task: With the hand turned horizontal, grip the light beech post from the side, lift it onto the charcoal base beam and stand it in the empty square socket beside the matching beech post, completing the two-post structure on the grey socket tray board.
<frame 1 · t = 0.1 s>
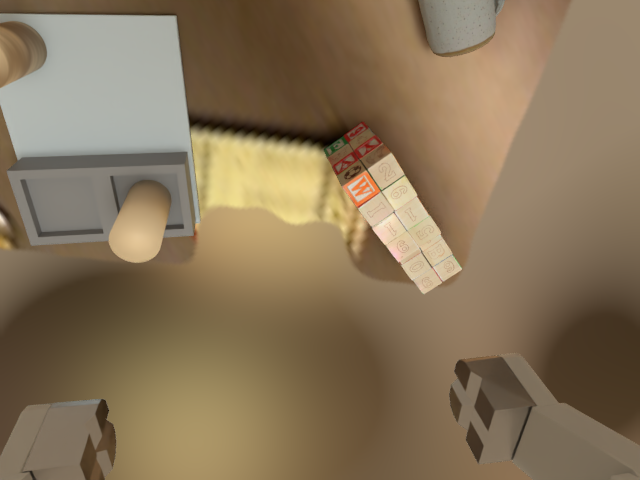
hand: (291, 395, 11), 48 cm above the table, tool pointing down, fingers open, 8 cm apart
grey socket tray board: (104, 130, 53), on the table
stack of blocks: (382, 195, 64), on the table
beech post: (20, 47, 47), point 1 cm above the table, touching grey socket tray board
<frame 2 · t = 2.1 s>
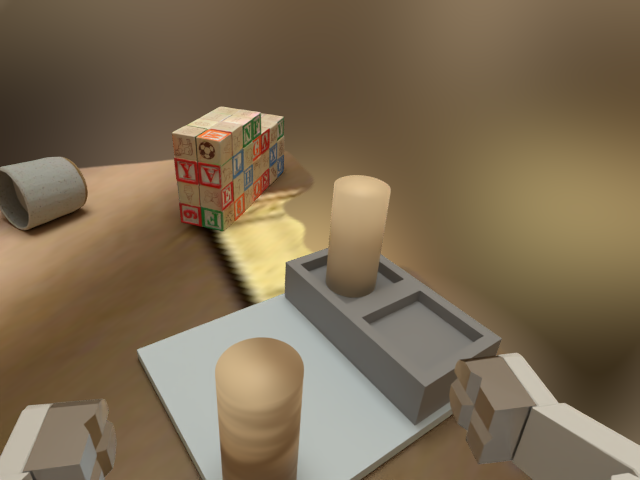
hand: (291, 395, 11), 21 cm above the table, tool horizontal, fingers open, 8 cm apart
ceramic mug: (41, 216, 59), on the table
grey socket tray board: (316, 371, 40), on the table
stack of blocks: (238, 196, 68), on the table
beech post: (260, 476, 30), point 1 cm above the table, touching grey socket tray board
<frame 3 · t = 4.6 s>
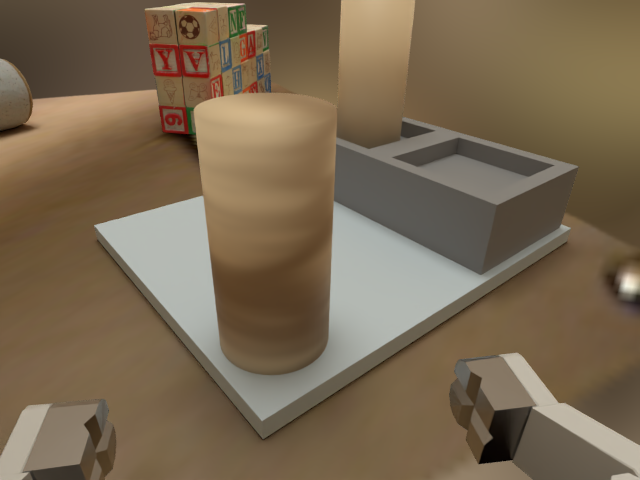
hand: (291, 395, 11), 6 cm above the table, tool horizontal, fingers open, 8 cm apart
grey socket tray board: (335, 240, 30), on the table
stack of blocks: (225, 113, 59), on the table
beech post: (274, 334, 21), point 1 cm above the table, touching grey socket tray board
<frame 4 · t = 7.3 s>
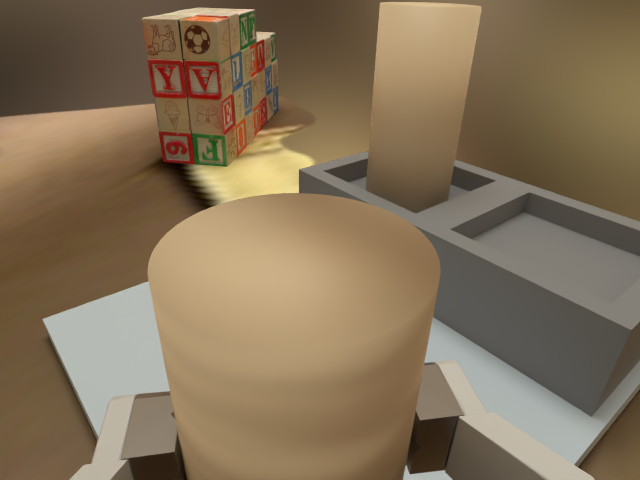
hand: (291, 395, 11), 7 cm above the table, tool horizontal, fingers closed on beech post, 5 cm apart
grey socket tray board: (370, 337, 22), on the table
stack of blocks: (231, 134, 51), on the table
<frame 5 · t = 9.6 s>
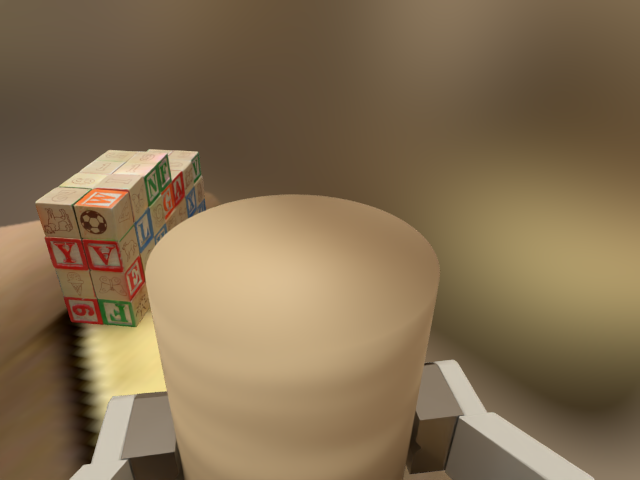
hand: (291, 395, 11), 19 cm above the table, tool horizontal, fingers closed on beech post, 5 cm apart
stack of blocks: (151, 264, 51), on the table
when the fingers open (11 cm above the table, at t = 12.2 s): beech post drops 2 cm, resting on grey socket tray board.
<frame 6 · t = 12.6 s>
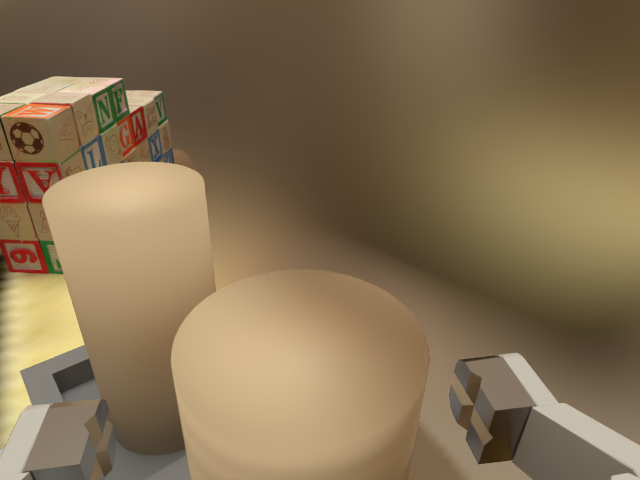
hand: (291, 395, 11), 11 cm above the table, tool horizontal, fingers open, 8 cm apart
stack of blocks: (110, 215, 44), on the table
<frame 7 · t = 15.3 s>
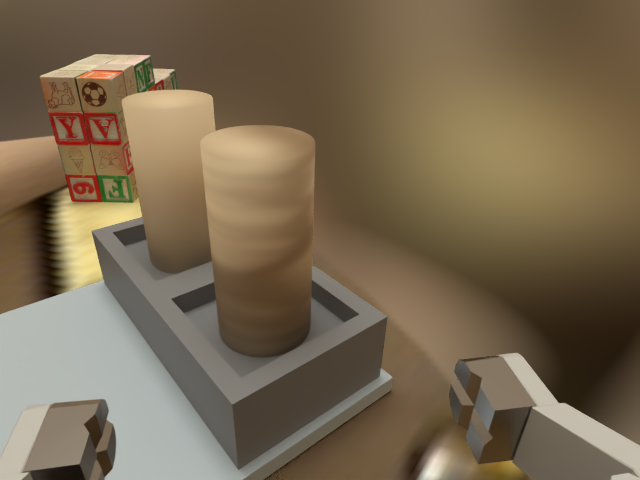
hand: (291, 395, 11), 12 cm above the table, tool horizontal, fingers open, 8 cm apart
grey socket tray board: (115, 389, 26), on the table
stack of blocks: (138, 167, 55), on the table
beech post: (265, 324, 25), point 4 cm above the table, touching grey socket tray board
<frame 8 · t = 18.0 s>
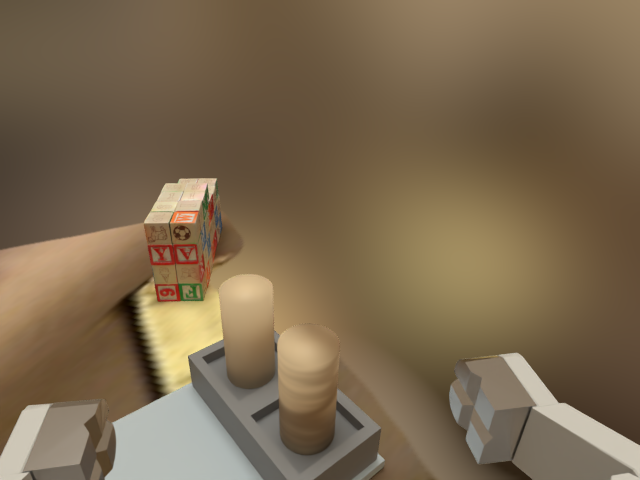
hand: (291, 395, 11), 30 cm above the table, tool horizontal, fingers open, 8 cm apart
grey socket tray board: (213, 467, 42), on the table
stack of blocks: (194, 261, 72), on the table
beech post: (307, 430, 40), point 4 cm above the table, touching grey socket tray board
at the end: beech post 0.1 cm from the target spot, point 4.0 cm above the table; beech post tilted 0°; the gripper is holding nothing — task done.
